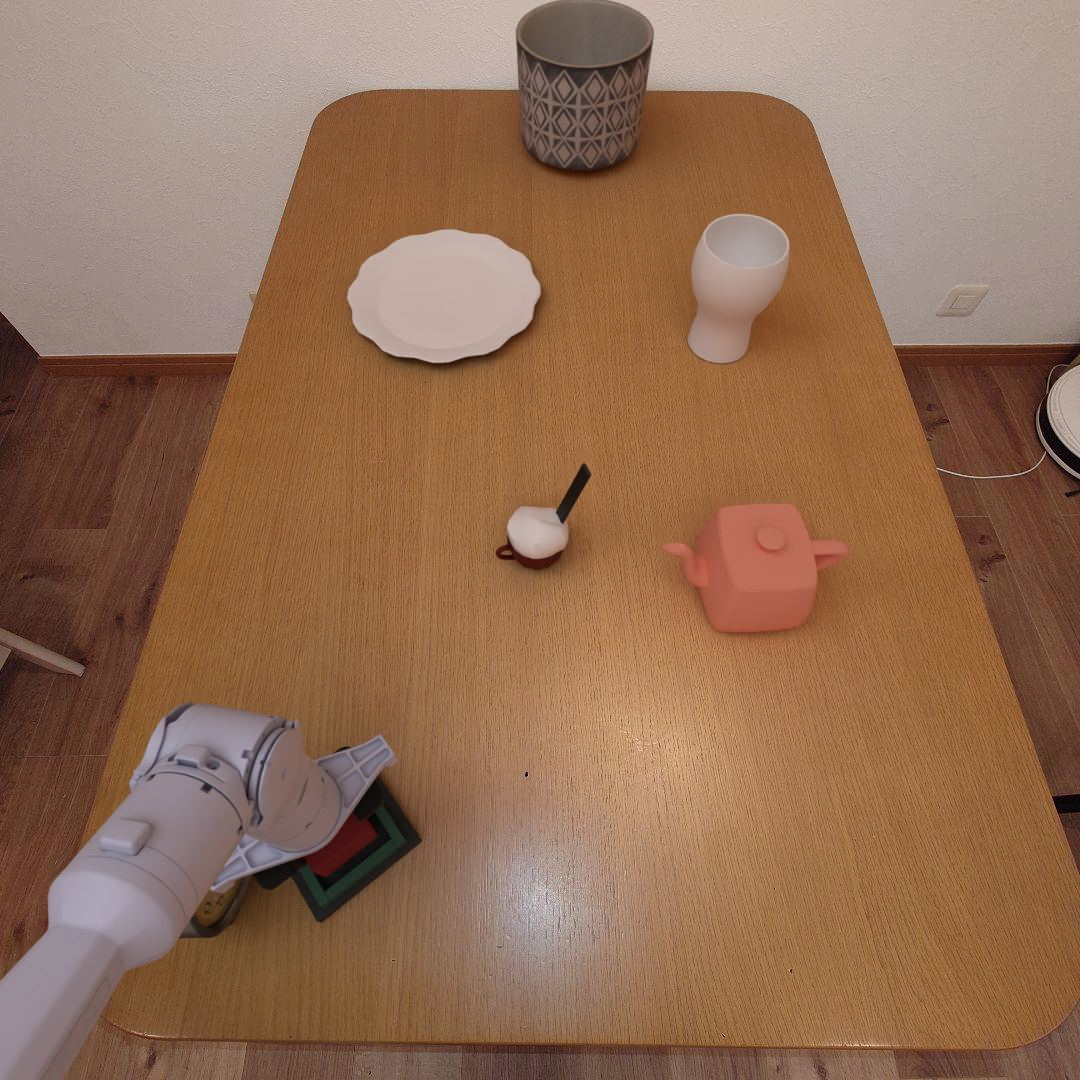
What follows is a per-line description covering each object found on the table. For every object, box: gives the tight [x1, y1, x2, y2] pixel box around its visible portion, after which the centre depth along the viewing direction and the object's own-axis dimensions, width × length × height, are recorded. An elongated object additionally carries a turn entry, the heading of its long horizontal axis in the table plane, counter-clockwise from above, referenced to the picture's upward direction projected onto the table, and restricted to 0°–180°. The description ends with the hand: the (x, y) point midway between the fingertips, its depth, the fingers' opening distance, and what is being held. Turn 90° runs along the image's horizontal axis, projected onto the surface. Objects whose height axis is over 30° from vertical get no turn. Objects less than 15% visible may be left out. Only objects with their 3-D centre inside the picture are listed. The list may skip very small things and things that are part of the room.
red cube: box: [303, 811, 378, 877], centre depth 58 cm, size 5×5×4 cm
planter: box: [515, 0, 655, 172], centre depth 107 cm, size 19×19×16 cm
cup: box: [687, 213, 791, 364], centre depth 85 cm, size 11×11×15 cm
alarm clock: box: [178, 874, 253, 940], centre depth 54 cm, size 11×5×16 cm, turn 1°
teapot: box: [662, 502, 850, 633], centre depth 69 cm, size 12×18×10 cm, turn 93°
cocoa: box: [495, 462, 592, 571], centre depth 71 cm, size 10×6×12 cm, turn 92°
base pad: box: [290, 774, 423, 924], centre depth 61 cm, size 10×9×3 cm
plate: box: [346, 229, 542, 365], centre depth 95 cm, size 25×25×2 cm
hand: (333, 828), depth 58 cm, fingers closed on red cube, 5 cm apart
